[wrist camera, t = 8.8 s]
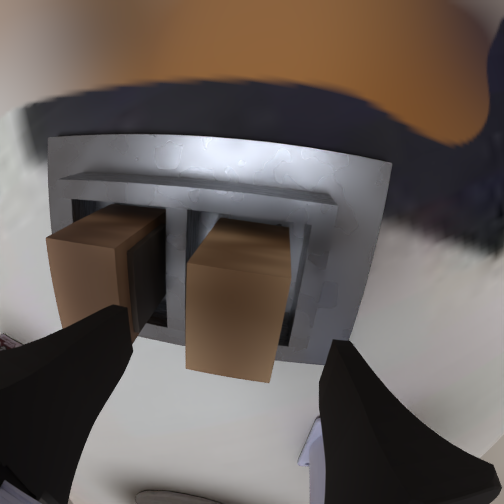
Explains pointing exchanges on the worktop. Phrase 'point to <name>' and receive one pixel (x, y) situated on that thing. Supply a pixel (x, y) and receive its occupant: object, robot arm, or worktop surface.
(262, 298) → the oak block
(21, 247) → the worktop surface
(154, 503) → the white ceramic vase
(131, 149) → the board
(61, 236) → the brown wooden block
